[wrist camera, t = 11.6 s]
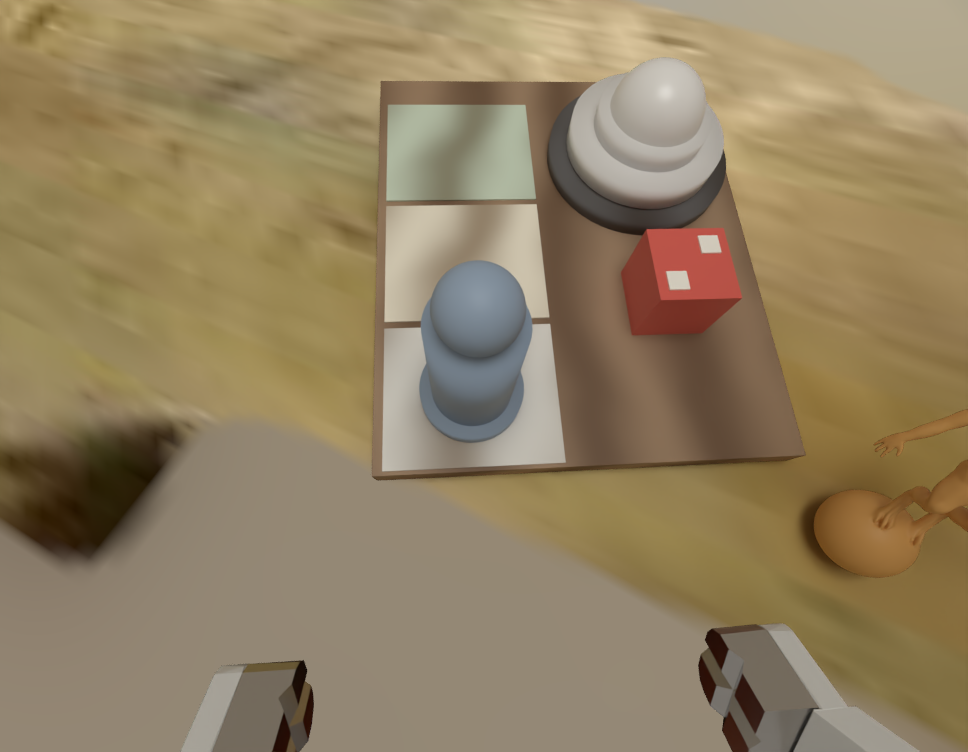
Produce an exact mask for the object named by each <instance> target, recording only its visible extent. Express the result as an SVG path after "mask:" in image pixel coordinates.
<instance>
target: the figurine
mask: <svg viewBox="0 0 968 752" xmlns="http://www.w3.org/2000/svg"><path fill="white" fill-rule="evenodd" d="M967 425H968V409H966V410H962V411H959V412H957V413H955V414H952V415H950V416H948V417H945V418H943V419H939V420H936V421H933V422H930V423H927V424H924V425H921V426H918V427H916V428H914V429H912V430H909V431H906V432H902V433H897V434H893V435H890V436H887V437H885V438H883V439H881V440H879V441H877V442H876V443H874V444H873V445H877V444H879V443H883V444H882V445H880V446H879V447H877V448H876V449H875V452H877V451H879V450H880V449H882V448H884V447H886V450H885V451H884V452H883V453H882V454H881V456H880V457H883V456H884V455H886V454H887V453H889V452H890V451H891V450H893V449H894V448H896V449H897V450H898V451H897V454H896V456H899V455H900V454H901V452H902V450H903V447H904V443H905V442H907V441H911V440H916V439H922V438H927V437H931V436H934V435H937V434H940V433H943V432H945V431H948V430H951V429H955V428H960V427H963V426H967ZM913 502H916V503H917V504H918V505H920V506H921V507H922V509H923V510H925V511H926V512H929V514H927V515H925V516H924V517H922V518H920V519H919V520H917V521H914V519H913V518H912V517H911V515H910V514H909V513H908V512H907V511H906V510H905V508H906V507H907V506H909V505H910V504H911V503H913ZM967 505H968V460H965V461H963V462H961V463H960V464H959V465H958V466H957V468H956V469H955V470H954V471H953V472H951V473H950V474H949V475H948V476H947V477H945V478H944V479H943V480H941V481H940V482H939V483H938V484H937V485H936V486H935V487H934V488H933V490H932V492H930V491H929V490H928V489H927V488H925V487H921V486H919V487H915V488H913V489H912V490H908V491H906V492H904V493H903V494H901V495H900V496H898V497H897V498H896V499H894V500H892V499H890V498H888V497H886V496H884V495H882V494H879V493H876V492H872V491H866V490H848V491H843V492H839V493H837V494H834V495H832V496H831V497H829V498H827V499H826V500H825V501H824V502H823V503H822V504H821V505H820V507H819V508H818V510H817V512H816V515H815V518H814V532H815V536H816V539H817V541H818V543H819V545H820V547H821V548H822V550H823V551H824V553H825V554H826V555H827V556H828V557H829V558H830V559H831V560H832V561H833V562H835V563H836V564H837V565H839V566H840V567H842V568H844V569H846V570H848V571H850V572H852V573H855V574H858V575H861V576H866V577H875V578H881V577H889V576H893V575H896V574H899V573H901V572H903V571H905V570H906V569H908V568H909V567H910V566H911V565H912V564H913V563H914V562H915V560H916V559H917V557H918V554H919V551H920V547H921V543H922V541H923V539H924V535H925V533H926V532H927V531H928V530H929V529H930V528H932V527H933V526H934V525H936V524H937V523H939V522H940V521H942V520H943V519H945V518H947V517H949V518H950V519H951V520H952V521H953V522H954V523H956V524H957V525H959V526H960V527H962V528H963V529H964V530H965V531H967V532H968V509H967V508H965V507H962V506H967Z"/></svg>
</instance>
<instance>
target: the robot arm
mask: <svg viewBox="0 0 968 752" xmlns="http://www.w3.org/2000/svg"><path fill="white" fill-rule="evenodd" d="M705 641H706V643H707V645H708V647H709V648H708V649H707V650H706V651H704V652H703V653H702V654H701V656H700V661H699V665H698V667H699V676H700V681H701V684H702V687H703V690H704V693H705V695H706V698H707V700H708V702H709V704H710V706H711V707H712V708H714V709H715V710H716V711H717V712H718V713H719V714H721V715H722V716H723V717H724V719H723V728H722V731H723V733H724V735H725V737H726V739H727V741H728V744H729V746H730V748H731V750H732V751H733V752H920V751H919V750H918V749H916V748H915V747H913V746H912V745H910V744H909V743H908V742H906V741H905V740H903V739H902V738H901V737H899V736H898V735H896V734H895V733H893V732H892V731H891V730H889V729H888V728H886V727H885V726H883V725H882V724H881V723H879V722H878V721H876V720H875V719H874V718H872V717H871V716H869V715H868V714H866V713H865V712H864V711H862V710H861V709H859V708H858V707H856V706H848V705H847V704H846V703H845V701H844V700H843V699H842V697H841V696H840V695H839V693H838V692H837V691H836V689H835V688H834V686H833V685H832V684H831V682H830V681H829V680H828V678H827V677H826V676H825V674H824V673H823V672H822V670H821V669H820V667H819V666H818V665H817V663H816V662H815V661H814V659H813V658H812V657H811V655H810V654H809V653H808V651H807V650H806V648H805V647H804V646H803V644H802V643H801V642H800V640H799V639H798V638H797V636H796V635H795V633H794V632H793V631H792V630H791V628H789V627H788V626H787V625H785V624H782V623H774V624H763V625H756V624H755V625H744V626H734V627H724V628H713V629H711V630H709V631H708V632H707V635H706V638H705ZM306 674H307V668H306V665H305V662H304V660H303V661H288V662H272V663H257V664H238V665H226V666H221V667H220V668H219V670H218V671H217V672H216V674H215V675H214V676H213V678H212V681H211V683H210V685H209V688H208V690H207V692H206V694H205V696H204V699H203V701H202V703H201V705H200V708H199V710H198V712H197V715H196V717H195V719H194V721H193V724H192V726H191V728H190V730H189V732H188V735H187V737H186V739H185V742H184V744H183V746H182V749H181V751H180V752H299V751H300V750H301V749H302V748H303V747H304V745H305V744H306V743H307V742H308V739H309V735H310V730H311V725H312V717H313V708H314V702H313V701H314V700H313V691H312V687H311V685H310V684H308V683H307V682H305V678H306Z"/></svg>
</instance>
